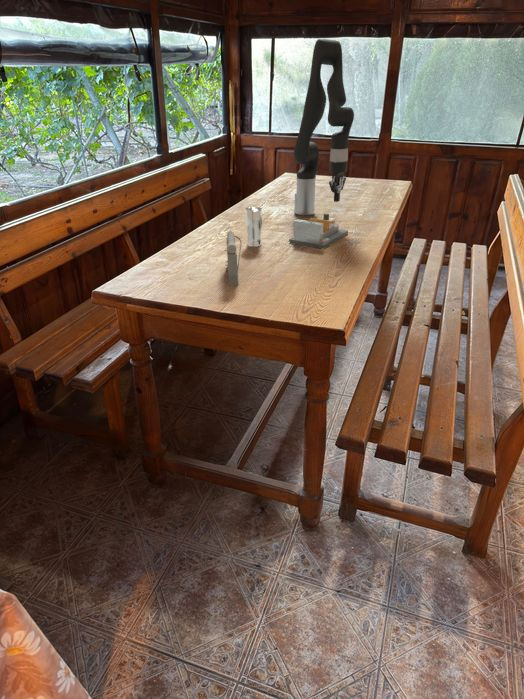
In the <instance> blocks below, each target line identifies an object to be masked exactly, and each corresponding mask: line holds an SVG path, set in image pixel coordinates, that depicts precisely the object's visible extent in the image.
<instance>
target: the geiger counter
mask: <svg viewBox="0 0 524 699" xmlns="http://www.w3.org/2000/svg"><path fill="white" fill-rule="evenodd" d="M226 234H227V235H226V236H227V237H226V250H223V251H224V252H226V254H227V255H226V256H227V261H226V263H227V264H225V266H226V267H225V268H224V269H225V270H226V271H225V272H226V273H227V272H228V285H229V286H238V285H239V275H238V274H239V268H240V259H241V252H242V251H241V250H242V239H241V238H240V237H238V236H237V235H235V234H234V231H232V230H229V231H227V233H226ZM236 239H238V240H239V242H240V244H239V252H238V254H237V244H236Z"/></svg>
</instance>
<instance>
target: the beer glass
mask: <svg viewBox="0 0 524 699" xmlns="http://www.w3.org/2000/svg"><path fill="white" fill-rule="evenodd" d="M244 222H245V229H246V234H247V242H246V246H247V247H249V248H259V247H261V246H262V245H263V244H262V239H261V238H262V237H261V234H262V233H261V232H262V228H263V227H262V226H263V210H262V207H261V206H248V207H245V211H244ZM258 246H259V247H258Z"/></svg>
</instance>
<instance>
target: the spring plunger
mask: <svg viewBox="0 0 524 699" xmlns="http://www.w3.org/2000/svg"><path fill="white" fill-rule="evenodd" d="M318 219H322V220H329V221H335V222H336V218H334V217H330V214H329V213H324V214H323V216H322V217H319V218H318ZM335 226H336V223H335V224H332V223H329V225H328V230H330V229H331V228H333V227H335Z"/></svg>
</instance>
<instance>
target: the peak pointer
mask: <svg viewBox="0 0 524 699" xmlns="http://www.w3.org/2000/svg"><path fill="white" fill-rule="evenodd" d="M309 221H313V222H320V223H323V233H324V232H326V231H328V225H329V223H332V224H335V225H336V220H335V221H329V220H322V219H319V218H314V217H310V218H309Z"/></svg>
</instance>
